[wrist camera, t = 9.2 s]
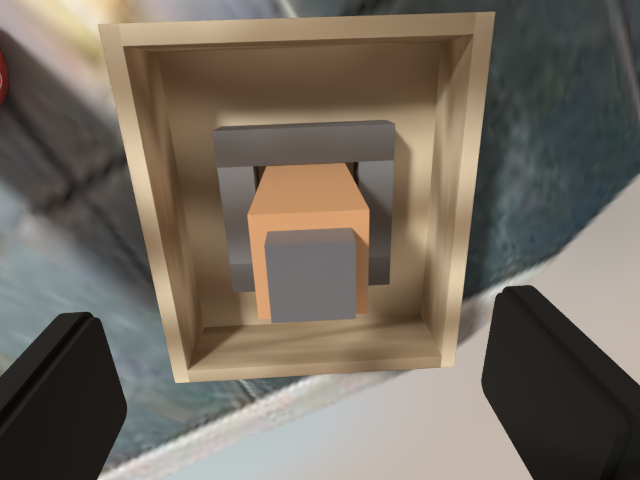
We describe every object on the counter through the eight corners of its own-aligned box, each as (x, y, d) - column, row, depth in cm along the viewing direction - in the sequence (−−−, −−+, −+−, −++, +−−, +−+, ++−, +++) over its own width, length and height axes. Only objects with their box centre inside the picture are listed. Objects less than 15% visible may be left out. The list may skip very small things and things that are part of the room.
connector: (269, 158, 22) (242, 227, 12) (340, 155, 22) (375, 221, 12) (274, 225, 24) (255, 339, 13) (341, 222, 24) (373, 332, 14)
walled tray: (143, 36, 20) (97, 24, 16) (452, 26, 21) (495, 11, 16) (196, 331, 27) (175, 382, 23) (428, 318, 28) (454, 366, 23)
